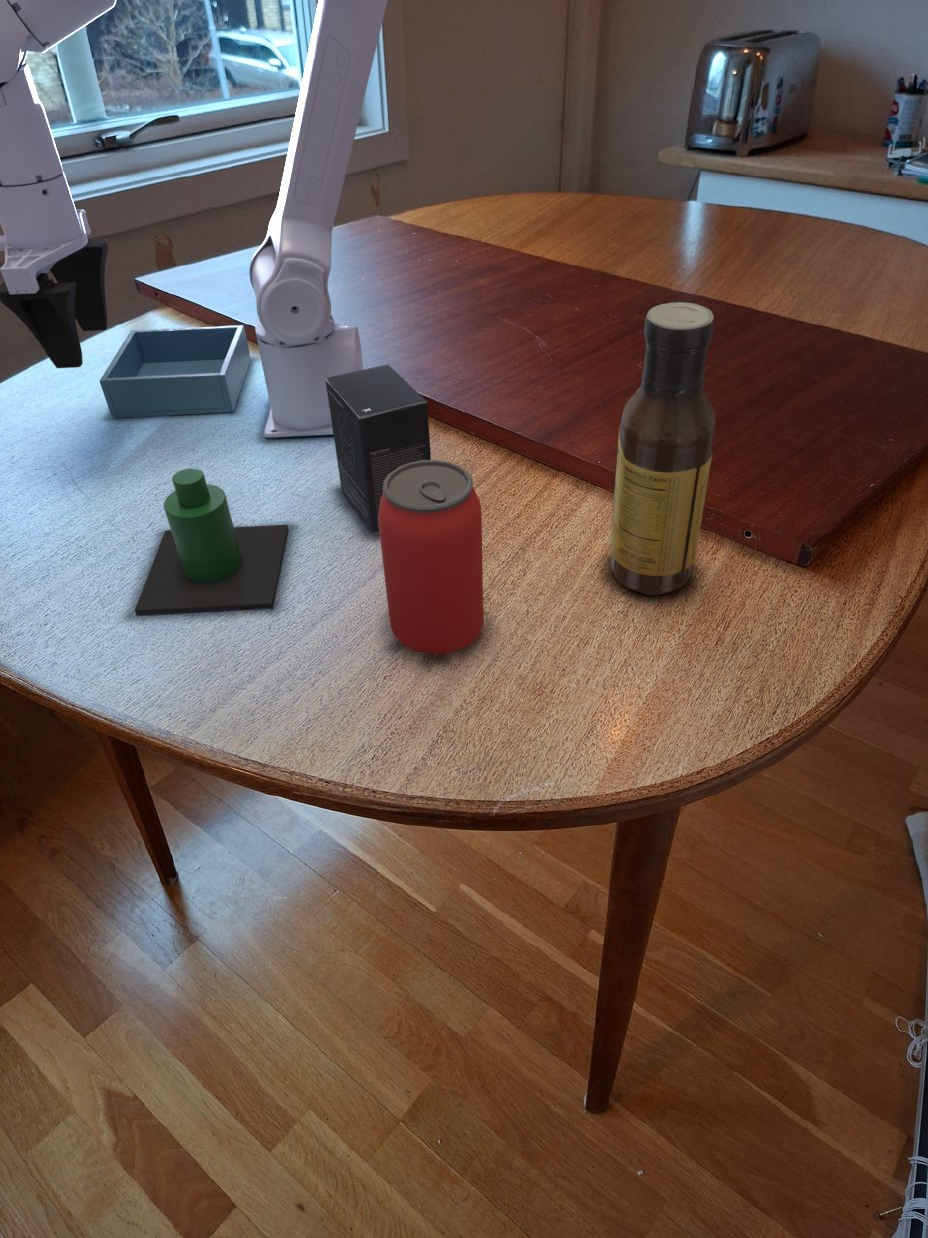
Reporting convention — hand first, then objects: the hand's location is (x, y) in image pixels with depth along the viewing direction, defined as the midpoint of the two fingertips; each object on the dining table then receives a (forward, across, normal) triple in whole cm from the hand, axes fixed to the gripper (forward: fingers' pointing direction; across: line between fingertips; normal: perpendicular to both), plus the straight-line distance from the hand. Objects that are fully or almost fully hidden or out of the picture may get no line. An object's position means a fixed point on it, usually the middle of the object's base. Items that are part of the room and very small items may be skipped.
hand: (82, 346), depth 74 cm
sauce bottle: (+10, +23, +46) cm, 52 cm away
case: (+10, -12, +4) cm, 16 cm away
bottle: (+9, +20, +13) cm, 26 cm away
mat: (+10, +20, +13) cm, 26 cm away
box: (+10, +12, +26) cm, 30 cm away
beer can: (+10, +28, +30) cm, 42 cm away
